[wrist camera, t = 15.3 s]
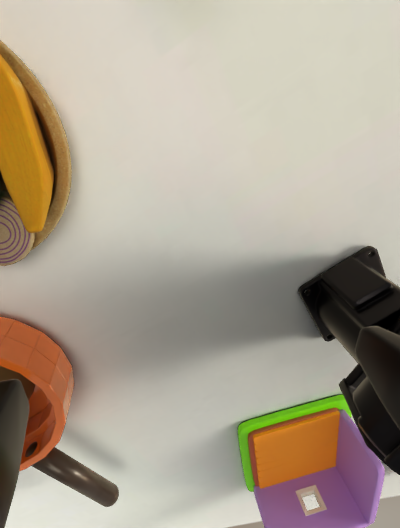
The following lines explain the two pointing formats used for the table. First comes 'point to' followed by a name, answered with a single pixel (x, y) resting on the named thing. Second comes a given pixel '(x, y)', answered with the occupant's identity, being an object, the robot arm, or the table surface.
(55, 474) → the pan handle
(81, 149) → the table surface
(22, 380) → the cork
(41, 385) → the pan
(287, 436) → the toy room diorama
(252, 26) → the table surface
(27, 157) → the toy sandwich meal
